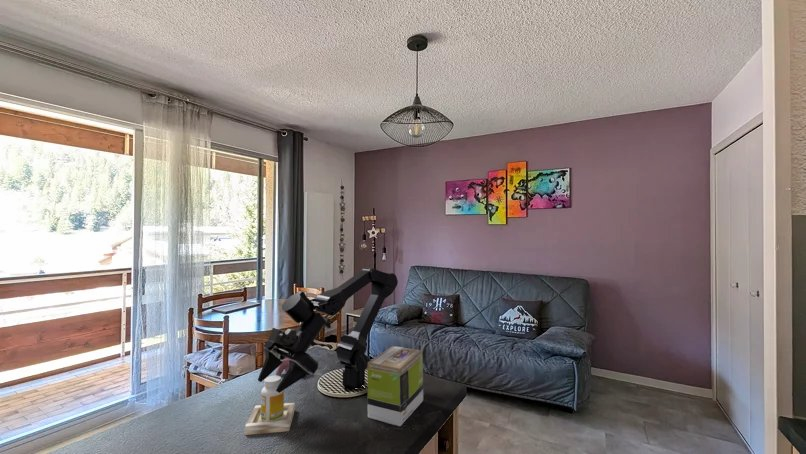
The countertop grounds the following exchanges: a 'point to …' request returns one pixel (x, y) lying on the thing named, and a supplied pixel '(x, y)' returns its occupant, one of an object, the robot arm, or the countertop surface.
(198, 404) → the countertop surface
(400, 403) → the tea box
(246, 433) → the recess plate
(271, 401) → the supplement bottle
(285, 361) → the pink legged piece
